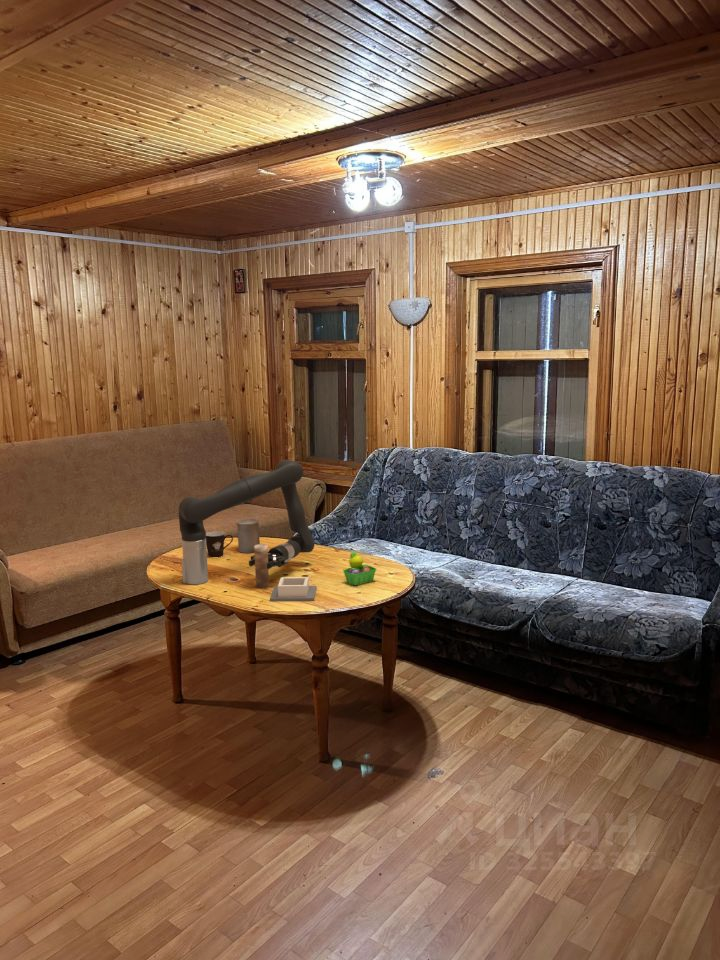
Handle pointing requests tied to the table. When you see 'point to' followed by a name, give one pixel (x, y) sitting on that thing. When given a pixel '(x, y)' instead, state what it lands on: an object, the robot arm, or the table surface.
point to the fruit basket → (358, 571)
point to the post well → (293, 590)
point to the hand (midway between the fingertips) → (258, 565)
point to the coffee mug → (216, 543)
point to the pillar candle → (248, 535)
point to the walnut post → (261, 566)
